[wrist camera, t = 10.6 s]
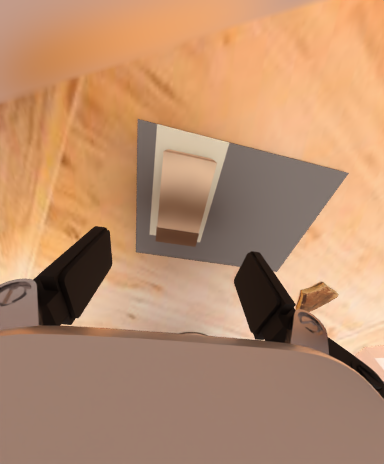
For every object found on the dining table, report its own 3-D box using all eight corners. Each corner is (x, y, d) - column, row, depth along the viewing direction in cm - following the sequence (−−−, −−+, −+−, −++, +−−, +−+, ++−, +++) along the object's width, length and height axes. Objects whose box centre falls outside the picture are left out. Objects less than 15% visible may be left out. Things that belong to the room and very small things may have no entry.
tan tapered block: (168, 148, 16) (162, 151, 13) (211, 158, 17) (217, 163, 14) (160, 225, 22) (155, 241, 18) (194, 230, 22) (195, 247, 19)
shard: (293, 312, 38) (297, 319, 36) (274, 302, 35) (278, 310, 34) (335, 290, 33) (342, 297, 32) (317, 277, 31) (324, 284, 29)
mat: (275, 269, 28) (277, 272, 28) (137, 249, 25) (135, 252, 24) (344, 172, 19) (349, 173, 18) (139, 119, 16) (137, 118, 15)
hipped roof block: (362, 345, 50) (396, 385, 42) (434, 338, 48) (484, 377, 40) (324, 383, 73) (340, 413, 65) (371, 379, 72) (394, 409, 64)
